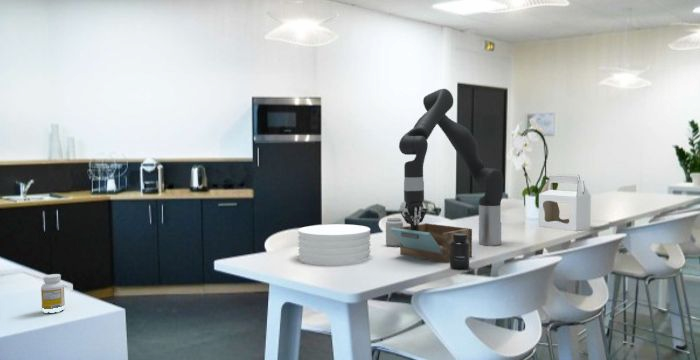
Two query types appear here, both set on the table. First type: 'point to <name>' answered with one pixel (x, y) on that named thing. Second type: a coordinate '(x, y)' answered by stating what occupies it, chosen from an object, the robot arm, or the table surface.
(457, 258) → the supplement bottle
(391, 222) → the can
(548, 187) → the gable box
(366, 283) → the table surface
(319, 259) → the plate stack
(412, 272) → the table surface
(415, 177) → the robot arm
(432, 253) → the crate
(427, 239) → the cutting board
